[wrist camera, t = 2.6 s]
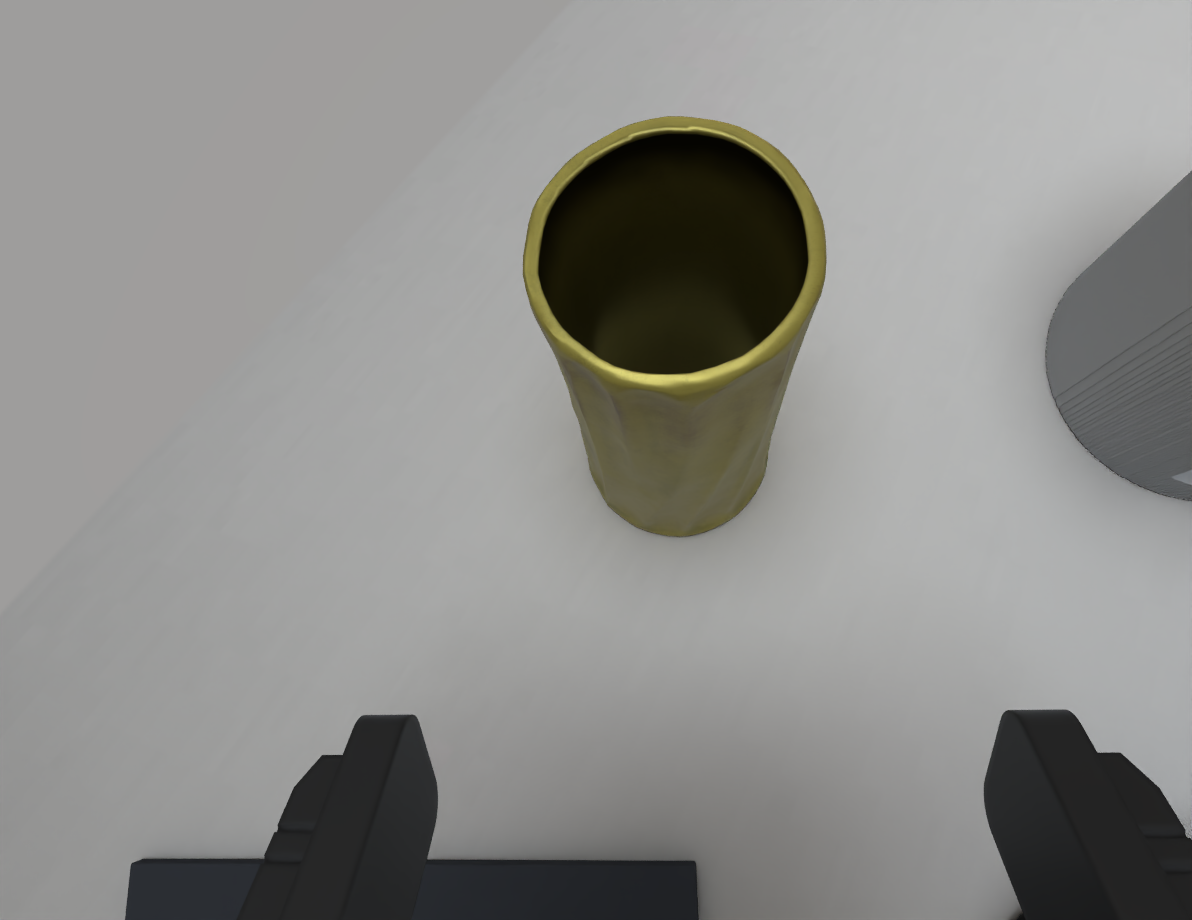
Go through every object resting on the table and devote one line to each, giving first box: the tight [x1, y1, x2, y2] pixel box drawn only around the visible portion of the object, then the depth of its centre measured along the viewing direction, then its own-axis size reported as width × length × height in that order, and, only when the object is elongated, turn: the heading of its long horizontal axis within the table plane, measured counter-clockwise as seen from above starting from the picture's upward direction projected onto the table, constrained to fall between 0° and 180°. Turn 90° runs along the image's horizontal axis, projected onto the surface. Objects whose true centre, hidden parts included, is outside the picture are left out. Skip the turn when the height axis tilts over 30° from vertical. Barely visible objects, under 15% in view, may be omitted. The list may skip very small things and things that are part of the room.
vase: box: [523, 116, 826, 537], centre depth 21 cm, size 6×6×14 cm
